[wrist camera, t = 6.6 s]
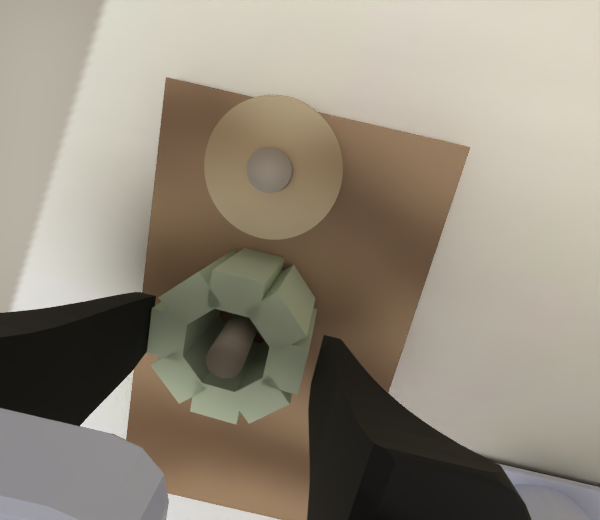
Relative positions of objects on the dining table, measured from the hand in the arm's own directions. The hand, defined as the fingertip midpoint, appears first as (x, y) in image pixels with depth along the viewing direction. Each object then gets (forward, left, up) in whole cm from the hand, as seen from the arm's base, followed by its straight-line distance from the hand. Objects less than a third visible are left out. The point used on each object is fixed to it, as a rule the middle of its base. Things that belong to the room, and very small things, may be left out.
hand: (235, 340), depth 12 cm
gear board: (-1, -1, -4) cm, 4 cm away
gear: (0, 0, -3) cm, 3 cm away
